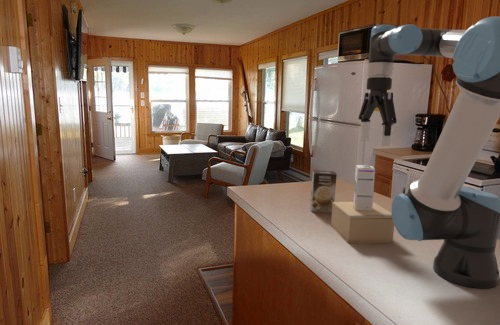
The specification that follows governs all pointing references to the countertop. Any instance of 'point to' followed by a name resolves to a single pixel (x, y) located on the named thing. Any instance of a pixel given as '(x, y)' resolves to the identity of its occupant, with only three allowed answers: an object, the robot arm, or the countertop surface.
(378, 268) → the countertop surface
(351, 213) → the box lid
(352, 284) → the countertop surface
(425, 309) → the countertop surface
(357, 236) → the cardboard box
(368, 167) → the syrup box
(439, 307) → the countertop surface
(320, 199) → the coffee box
